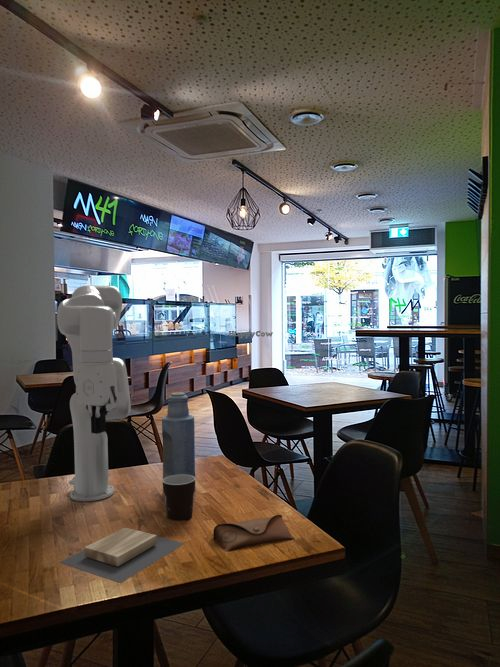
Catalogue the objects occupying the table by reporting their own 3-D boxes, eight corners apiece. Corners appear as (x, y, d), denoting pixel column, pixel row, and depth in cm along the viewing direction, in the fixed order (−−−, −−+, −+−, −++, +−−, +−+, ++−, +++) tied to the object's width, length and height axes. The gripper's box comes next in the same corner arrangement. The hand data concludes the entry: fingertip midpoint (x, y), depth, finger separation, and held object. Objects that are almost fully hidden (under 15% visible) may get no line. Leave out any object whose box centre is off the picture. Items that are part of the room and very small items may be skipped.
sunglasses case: (224, 552, 111) (218, 521, 114) (216, 557, 117) (211, 527, 120) (297, 538, 118) (290, 509, 121) (286, 543, 123) (280, 515, 127)
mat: (59, 563, 108) (59, 562, 108) (127, 529, 125) (127, 528, 125) (120, 585, 98) (120, 583, 98) (184, 545, 116) (184, 543, 116)
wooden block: (84, 547, 109) (117, 556, 104) (124, 527, 120) (156, 535, 115) (84, 558, 109) (118, 568, 104) (124, 537, 120) (156, 545, 115)
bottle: (157, 491, 153) (154, 393, 152) (185, 484, 159) (183, 389, 158) (172, 500, 145) (170, 396, 144) (201, 492, 151) (199, 393, 150)
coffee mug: (190, 524, 127) (189, 485, 127) (158, 522, 129) (157, 483, 129) (203, 507, 139) (202, 471, 138) (173, 506, 140) (173, 470, 140)
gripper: (63, 357, 123) (65, 432, 124) (106, 360, 115) (108, 439, 116) (87, 354, 129) (89, 425, 130) (130, 357, 121) (132, 432, 122)
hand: (98, 432), depth 123 cm, fingers closed
